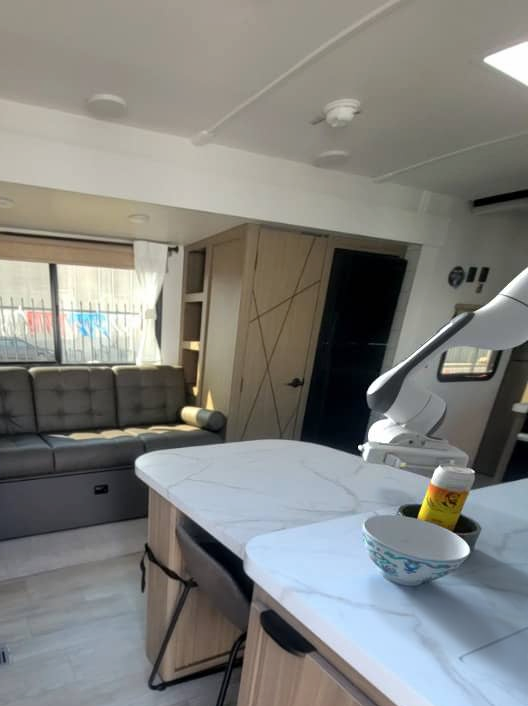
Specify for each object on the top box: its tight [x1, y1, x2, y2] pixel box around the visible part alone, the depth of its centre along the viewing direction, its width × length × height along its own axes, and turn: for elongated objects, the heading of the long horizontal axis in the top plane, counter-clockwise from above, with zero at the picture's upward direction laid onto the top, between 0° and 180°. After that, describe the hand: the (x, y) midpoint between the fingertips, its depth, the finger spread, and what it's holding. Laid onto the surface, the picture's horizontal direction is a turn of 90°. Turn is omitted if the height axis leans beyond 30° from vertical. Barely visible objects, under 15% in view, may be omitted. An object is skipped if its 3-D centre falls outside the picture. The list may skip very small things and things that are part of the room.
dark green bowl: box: [395, 503, 483, 560], centre depth 79 cm, size 13×13×6 cm
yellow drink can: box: [417, 464, 476, 532], centre depth 77 cm, size 6×6×15 cm
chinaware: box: [362, 514, 470, 587], centre depth 68 cm, size 15×15×8 cm
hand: (426, 467), depth 85 cm, fingers open, 8 cm apart
